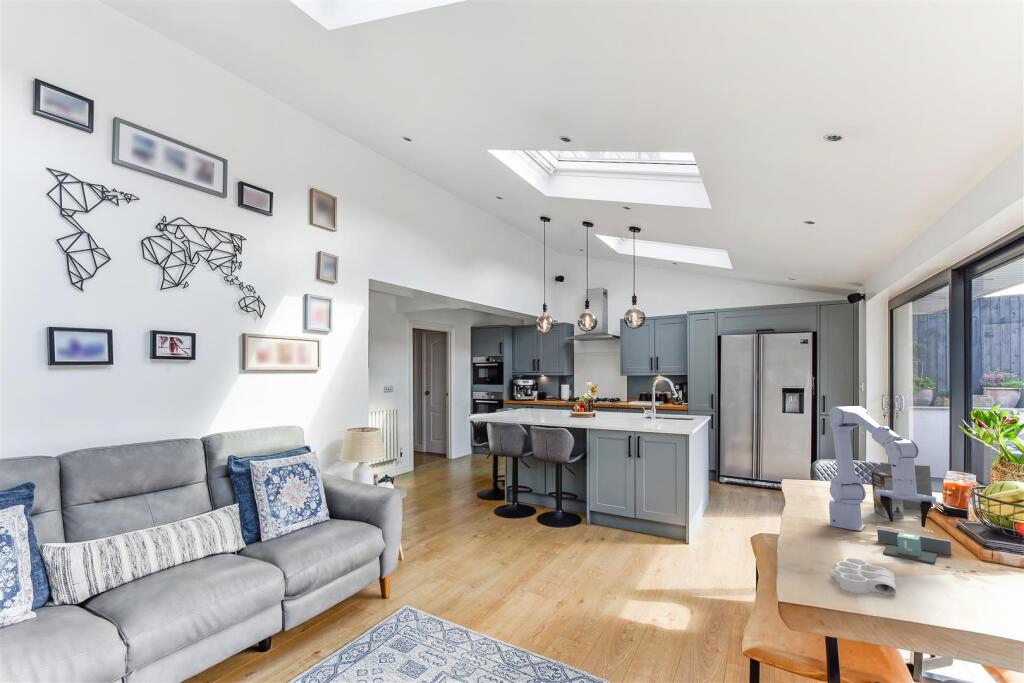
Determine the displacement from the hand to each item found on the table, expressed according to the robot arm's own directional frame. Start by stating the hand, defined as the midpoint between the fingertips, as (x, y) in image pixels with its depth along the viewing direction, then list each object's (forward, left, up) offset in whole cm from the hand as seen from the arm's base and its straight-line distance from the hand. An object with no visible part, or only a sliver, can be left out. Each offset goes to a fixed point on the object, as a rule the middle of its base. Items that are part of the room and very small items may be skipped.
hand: (907, 523), depth 149 cm
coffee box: (-11, +44, -10) cm, 47 cm away
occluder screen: (0, +8, -9) cm, 13 cm away
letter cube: (0, 0, -9) cm, 9 cm away
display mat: (0, 0, -9) cm, 9 cm away
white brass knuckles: (-7, -31, -10) cm, 33 cm away
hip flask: (-7, +61, -10) cm, 62 cm away
